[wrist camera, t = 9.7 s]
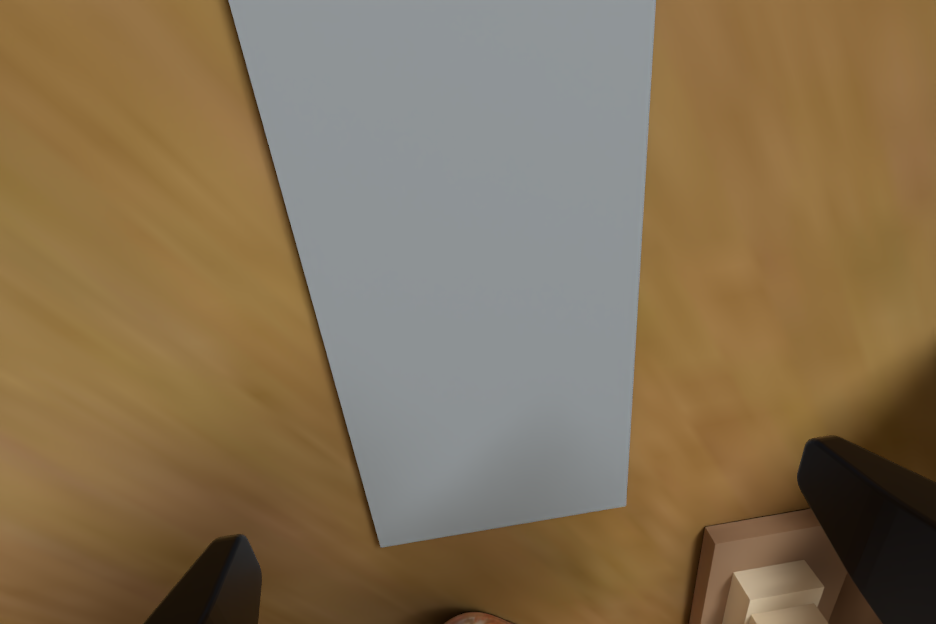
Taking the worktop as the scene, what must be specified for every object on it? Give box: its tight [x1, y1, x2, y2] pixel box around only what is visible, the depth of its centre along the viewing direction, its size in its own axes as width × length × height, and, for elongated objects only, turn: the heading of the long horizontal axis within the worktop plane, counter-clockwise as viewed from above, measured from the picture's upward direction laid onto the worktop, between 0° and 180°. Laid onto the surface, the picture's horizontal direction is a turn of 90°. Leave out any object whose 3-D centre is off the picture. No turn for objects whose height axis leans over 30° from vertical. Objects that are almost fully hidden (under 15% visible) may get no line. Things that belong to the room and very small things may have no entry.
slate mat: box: [228, 0, 656, 548], centre depth 15 cm, size 9×19×1 cm, turn 6°
